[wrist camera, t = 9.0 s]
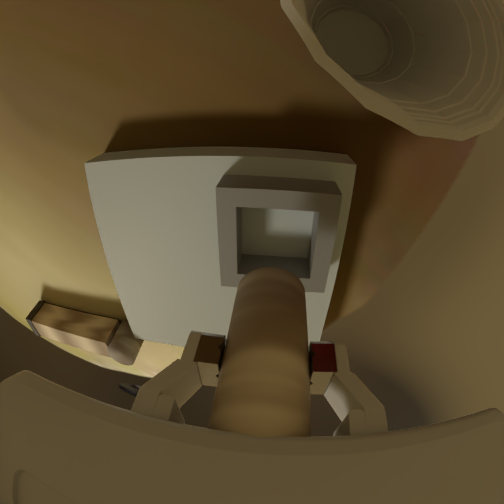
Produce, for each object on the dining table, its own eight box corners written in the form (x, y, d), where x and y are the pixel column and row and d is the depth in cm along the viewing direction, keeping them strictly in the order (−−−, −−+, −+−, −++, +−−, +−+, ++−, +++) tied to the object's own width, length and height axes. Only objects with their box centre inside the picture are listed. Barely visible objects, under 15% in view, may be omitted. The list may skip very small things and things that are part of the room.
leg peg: (236, 264, 14) (187, 474, 6) (309, 269, 14) (322, 484, 5) (237, 316, 16) (204, 491, 8) (300, 320, 16) (299, 498, 7)
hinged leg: (142, 322, 32) (128, 349, 28) (149, 340, 34) (137, 367, 30) (39, 299, 33) (24, 319, 30) (48, 316, 35) (34, 336, 32)
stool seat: (103, 153, 21) (65, 173, 16) (347, 154, 20) (366, 176, 15) (143, 319, 32) (127, 354, 27) (313, 336, 30) (315, 377, 26)
